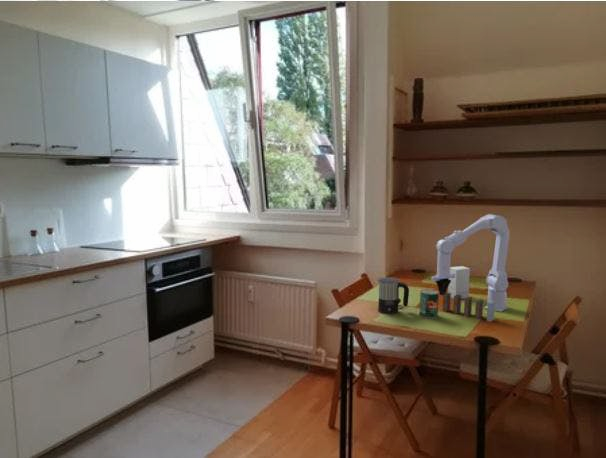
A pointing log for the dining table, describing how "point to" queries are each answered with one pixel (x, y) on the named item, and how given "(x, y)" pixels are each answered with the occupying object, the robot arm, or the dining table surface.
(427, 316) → the canned tomato
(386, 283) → the milk frother
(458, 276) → the skincare box
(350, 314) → the dining table surface
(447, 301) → the domino
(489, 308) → the domino
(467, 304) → the domino
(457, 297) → the domino
